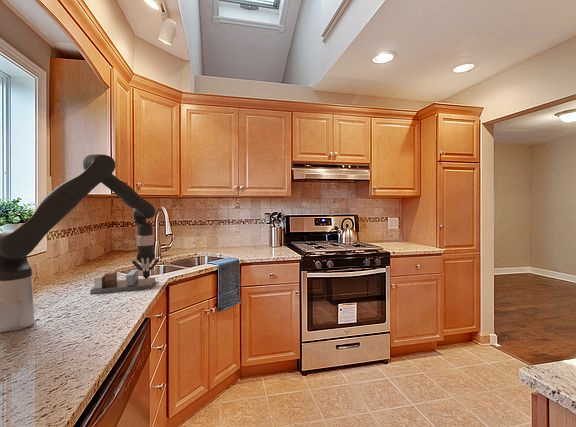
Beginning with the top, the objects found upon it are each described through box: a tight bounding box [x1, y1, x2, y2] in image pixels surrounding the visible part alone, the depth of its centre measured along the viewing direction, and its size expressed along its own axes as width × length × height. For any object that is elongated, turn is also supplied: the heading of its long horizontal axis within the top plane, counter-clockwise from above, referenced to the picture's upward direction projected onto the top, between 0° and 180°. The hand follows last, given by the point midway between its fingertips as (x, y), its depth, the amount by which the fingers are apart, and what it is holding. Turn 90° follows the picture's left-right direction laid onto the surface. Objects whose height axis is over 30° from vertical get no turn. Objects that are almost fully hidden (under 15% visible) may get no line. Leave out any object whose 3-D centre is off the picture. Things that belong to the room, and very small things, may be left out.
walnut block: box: [105, 270, 118, 286], centre depth 149 cm, size 5×4×6 cm
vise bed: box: [90, 271, 156, 295], centre depth 151 cm, size 14×26×7 cm, turn 106°
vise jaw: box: [125, 268, 139, 286], centre depth 152 cm, size 12×3×5 cm, turn 16°
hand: (146, 278), depth 153 cm, fingers closed
